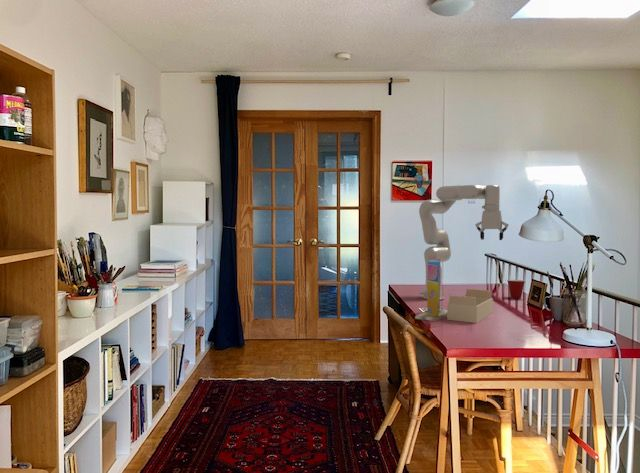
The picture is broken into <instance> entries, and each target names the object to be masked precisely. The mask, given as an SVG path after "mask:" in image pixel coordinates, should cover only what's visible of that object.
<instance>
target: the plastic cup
mask: <svg viewBox="0 0 640 473" xmlns="http://www.w3.org/2000/svg"><path fill="white" fill-rule="evenodd" d="M506 281H507V284H508V289H509V296H510V299H512V298H513V300H520V299H519V298H521V299H522V297H523V296H522V295H523V290H524V286H525V282H526V280H524V279H507V280H506Z"/></svg>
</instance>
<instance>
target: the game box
mask: <svg viewBox="0 0 640 473" xmlns="http://www.w3.org/2000/svg"><path fill="white" fill-rule="evenodd" d="M440 265H441V262H440V259H430V260H429V261H428V286H427V299H426V303H427V304H426V309H427V310H426V311H427V316H438V315H439V311H440V309H441V300H440Z"/></svg>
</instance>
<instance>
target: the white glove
mask: <svg viewBox="0 0 640 473" xmlns="http://www.w3.org/2000/svg"><path fill="white" fill-rule="evenodd" d="M446 317H447V309H441V308H440V311H439V315H438V316H427V310H426V311H423V312H420V313H418V314H416V315H415V316H414V319H415V320H423V321H429V322H430V321H432V322H437V321H440V320H443V318H446Z"/></svg>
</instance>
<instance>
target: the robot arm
mask: <svg viewBox="0 0 640 473" xmlns="http://www.w3.org/2000/svg"><path fill="white" fill-rule="evenodd" d="M500 189H501V188H500V186H499V185H498V184H488V185H480V184H478V185H477V184H465V185H461V184H460V185H458V184H457V185H445V186H444V185H443V186H440V187H439V188H437V189H436V192H435V195H436V198H438V199H426V200H424V201H423V202H421V204H420V205H419V207H418V208H419V209H418V212H419V218H420V221H421V227H422V228H421V229H422V233H423V240H424V243H426V244H427V245H436V246H429V247H427V248H426V249H425V250H424V254H423V256H424V262H425V290H419V293H418V294H419V295H422V299H424V300H427V286H428V261H429V260H430V259H440V263H443V262H447V261H449V260H450V258H451V256H452V255H451V254H452V253H451V251H452V249H451V245H450V239H449V238H450V237H449V234H448V232H447V231H446V230H445V229H444V228H443V229H442V228H438V227H437V222H436V221H437V220H436V219H435V217H434V216H433V215H434V214H435V215H436V214H437V215H438V214H440V215H441V214H445V213H447V212H448V211H449V210H450V208H451V207H453V205H454V204H455V203H456V201H462V200H468V199H469V200H472V199H473V200H477V199H478V200H484V205H482V206H481V209H483V210H482V213H481V214H482V215H481V221H479V222H477V223H475V227H476V229H477V231H478V232H479V233H480V234H479V235H480V236H479V238H480V240H481V241H482V240H485V232H484V231H485V230H498V231H499V236H498V238H499V241H502V240H503V239H504V233H505V232H506V230H507V229H508V227H509V224H508V223H507V222H505V221H503V220H502V219H503V218H502V211H501V210H500V194H501V193H500ZM503 226H504V227H503ZM442 271H443V270H442V266H441V264H440V301H442V300H444V299H445V296H443V295H442V290H443V289H442V286H443V285H442V283H443V282H442V277H443V274H442V273H443V272H442Z"/></svg>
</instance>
